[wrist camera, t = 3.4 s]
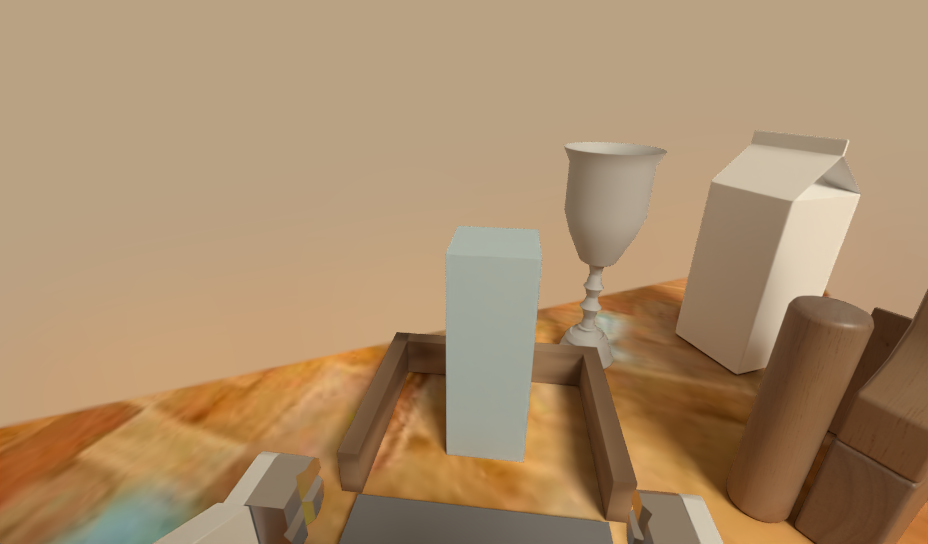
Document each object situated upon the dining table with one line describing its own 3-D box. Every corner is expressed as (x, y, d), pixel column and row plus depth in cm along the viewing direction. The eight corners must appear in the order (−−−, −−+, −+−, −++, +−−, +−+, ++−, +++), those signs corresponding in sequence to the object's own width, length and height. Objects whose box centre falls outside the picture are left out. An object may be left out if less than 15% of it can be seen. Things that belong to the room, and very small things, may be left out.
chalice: (639, 355, 39) (682, 149, 32) (601, 389, 34) (641, 158, 27) (569, 325, 44) (592, 140, 36) (528, 351, 39) (545, 146, 32)
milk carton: (736, 377, 36) (812, 141, 29) (673, 333, 42) (722, 131, 35) (797, 361, 38) (883, 138, 31) (729, 323, 44) (786, 129, 37)
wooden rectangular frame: (342, 490, 26) (336, 452, 24) (398, 362, 37) (396, 332, 36) (628, 522, 24) (637, 483, 23) (591, 377, 36) (596, 346, 35)
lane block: (446, 454, 28) (445, 254, 23) (456, 402, 33) (457, 225, 27) (523, 462, 28) (542, 259, 22) (523, 408, 32) (538, 229, 27)
